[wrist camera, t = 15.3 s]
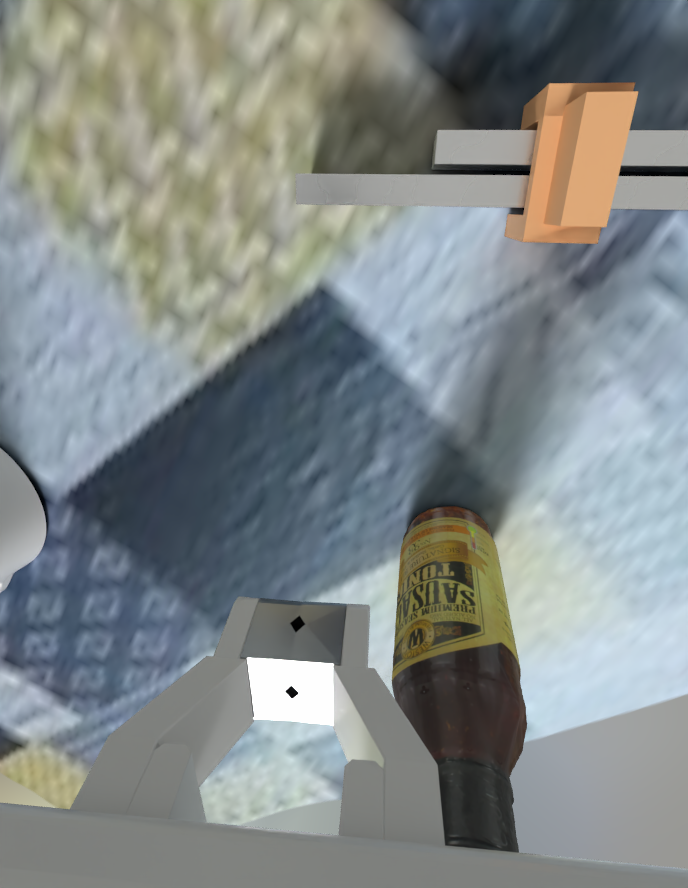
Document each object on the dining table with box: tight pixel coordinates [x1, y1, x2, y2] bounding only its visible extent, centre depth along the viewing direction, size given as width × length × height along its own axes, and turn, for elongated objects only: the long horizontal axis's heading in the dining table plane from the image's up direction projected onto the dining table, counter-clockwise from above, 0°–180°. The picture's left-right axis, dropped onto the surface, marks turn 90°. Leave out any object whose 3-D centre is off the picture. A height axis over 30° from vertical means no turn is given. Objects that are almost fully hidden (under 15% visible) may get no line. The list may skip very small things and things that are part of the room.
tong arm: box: [432, 130, 688, 172], centre depth 20 cm, size 18×1×4 cm, turn 89°
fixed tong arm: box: [296, 174, 688, 210], centre depth 21 cm, size 24×1×4 cm, turn 90°
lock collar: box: [505, 82, 639, 244], centre depth 19 cm, size 3×5×7 cm, turn 179°
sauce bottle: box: [392, 506, 527, 853], centre depth 24 cm, size 7×6×20 cm
